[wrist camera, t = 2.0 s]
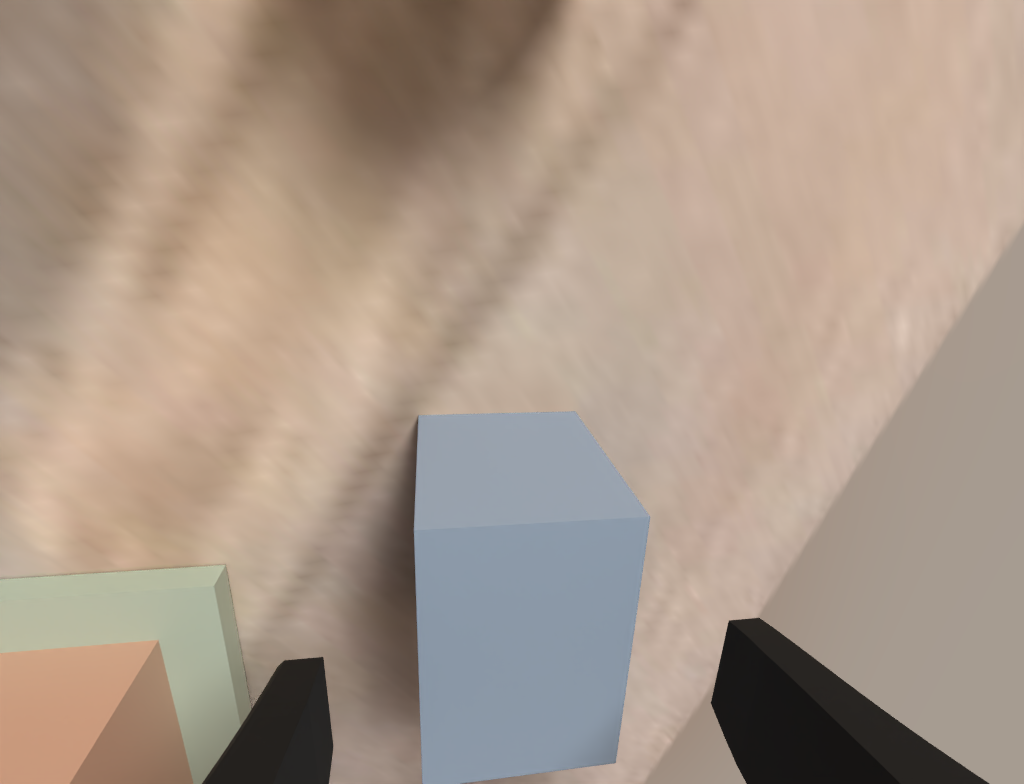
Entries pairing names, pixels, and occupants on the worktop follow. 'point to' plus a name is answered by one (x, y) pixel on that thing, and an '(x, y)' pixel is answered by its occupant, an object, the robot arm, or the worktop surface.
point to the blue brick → (521, 595)
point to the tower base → (142, 615)
